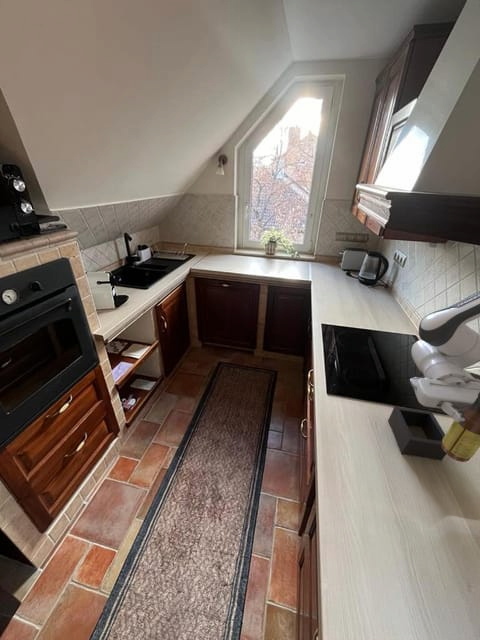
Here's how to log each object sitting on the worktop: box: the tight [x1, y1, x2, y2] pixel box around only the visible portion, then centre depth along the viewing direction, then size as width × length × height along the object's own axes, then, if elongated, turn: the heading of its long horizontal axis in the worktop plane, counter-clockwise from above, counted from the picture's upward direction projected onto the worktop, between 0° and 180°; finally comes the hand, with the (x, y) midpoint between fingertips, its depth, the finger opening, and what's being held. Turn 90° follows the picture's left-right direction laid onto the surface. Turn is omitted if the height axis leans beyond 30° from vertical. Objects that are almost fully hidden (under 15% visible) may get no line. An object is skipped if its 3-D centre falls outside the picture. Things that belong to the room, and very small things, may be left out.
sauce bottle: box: [441, 392, 480, 463], centre depth 60 cm, size 7×6×20 cm
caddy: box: [387, 406, 447, 461], centre depth 80 cm, size 11×12×7 cm
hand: (479, 423), depth 59 cm, fingers closed on sauce bottle, 6 cm apart
